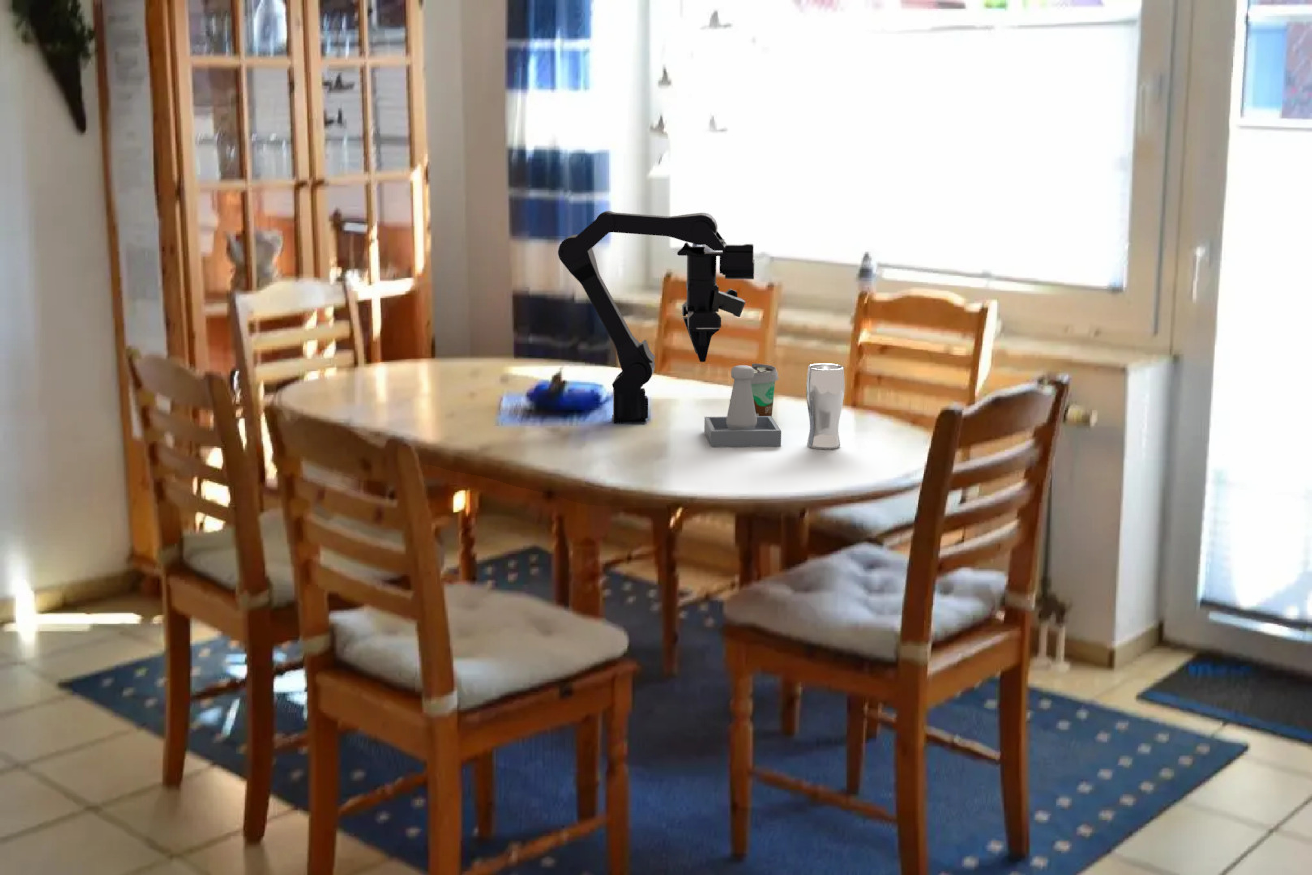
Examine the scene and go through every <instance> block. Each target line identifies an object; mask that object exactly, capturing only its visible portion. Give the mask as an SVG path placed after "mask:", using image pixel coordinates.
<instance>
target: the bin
mask: <svg viewBox="0 0 1312 875" xmlns="http://www.w3.org/2000/svg"><path fill="white" fill-rule="evenodd" d="M756 418H757V424H756V426H755V429H754V430H729V429H728V426H727V424H726V419H727V416H704V420H703V421H704V432H703V433H704V434H705V435H704V436H706V438H707V441H708V443H709V445H710V447H711V448H742V447H743V448H747V447H748V448H752V447H755V448H756V447H757V448H758V447H759V448H760V447H761V448H764V447H765V448H766V447H775V448H777V447H781V446H782V429H781V428H780V427H779V425H778V424H777V422H776V421H775V418H774V417H773V415H772V416H756Z"/></svg>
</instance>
